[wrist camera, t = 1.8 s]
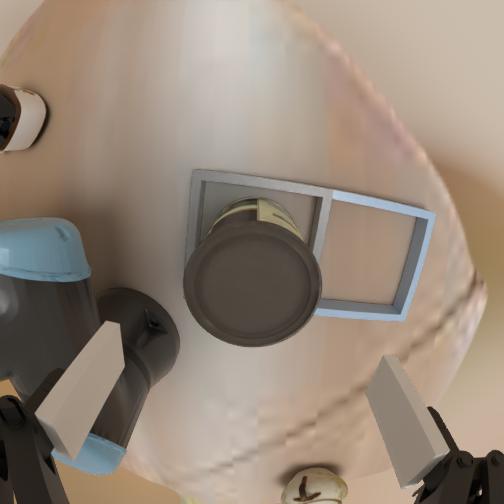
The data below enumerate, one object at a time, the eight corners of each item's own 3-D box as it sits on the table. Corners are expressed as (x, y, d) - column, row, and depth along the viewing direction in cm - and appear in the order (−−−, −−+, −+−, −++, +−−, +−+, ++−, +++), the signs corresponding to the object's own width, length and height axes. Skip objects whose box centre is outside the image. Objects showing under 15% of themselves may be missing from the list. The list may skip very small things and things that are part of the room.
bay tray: (188, 288, 37) (183, 298, 34) (198, 169, 32) (193, 170, 29) (396, 311, 37) (403, 321, 35) (425, 209, 33) (436, 213, 30)
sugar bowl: (265, 466, 50) (266, 523, 35) (332, 448, 47) (343, 507, 33) (295, 493, 55) (299, 538, 41) (350, 478, 53) (360, 524, 38)
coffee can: (207, 274, 36) (180, 338, 22) (216, 191, 33) (187, 212, 19) (289, 285, 36) (305, 354, 23) (304, 203, 33) (336, 233, 20)
